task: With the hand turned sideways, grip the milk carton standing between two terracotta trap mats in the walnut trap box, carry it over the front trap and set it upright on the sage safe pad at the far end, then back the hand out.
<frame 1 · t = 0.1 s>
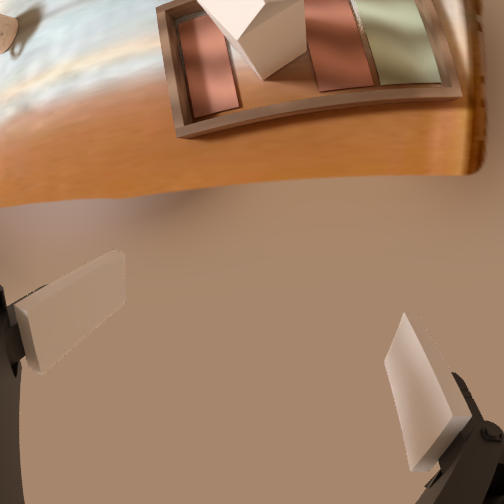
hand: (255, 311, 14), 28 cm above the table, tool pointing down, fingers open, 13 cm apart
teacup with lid: (7, 41, 39), on the table
trap box: (306, 40, 33), on the table
milk carton: (268, 47, 35), resting in trap box
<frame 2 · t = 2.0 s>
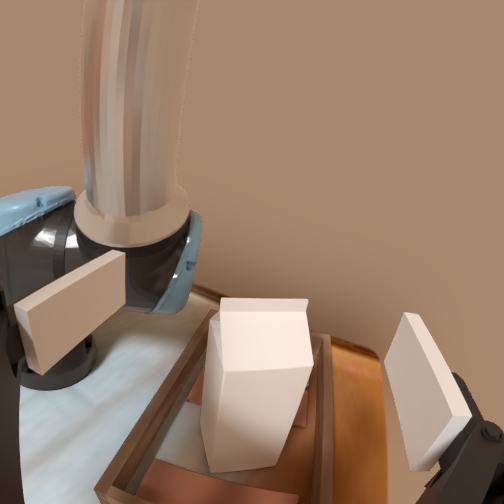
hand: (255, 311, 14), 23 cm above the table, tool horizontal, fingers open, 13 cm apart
trap box: (245, 416, 35), on the table
milk carton: (235, 447, 30), resting in trap box
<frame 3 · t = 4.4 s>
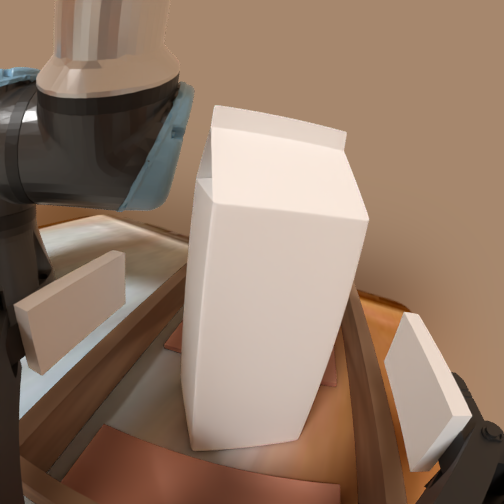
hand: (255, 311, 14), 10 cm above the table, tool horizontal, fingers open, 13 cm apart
trap box: (248, 370, 25), on the table
milk carton: (234, 412, 21), resting in trap box
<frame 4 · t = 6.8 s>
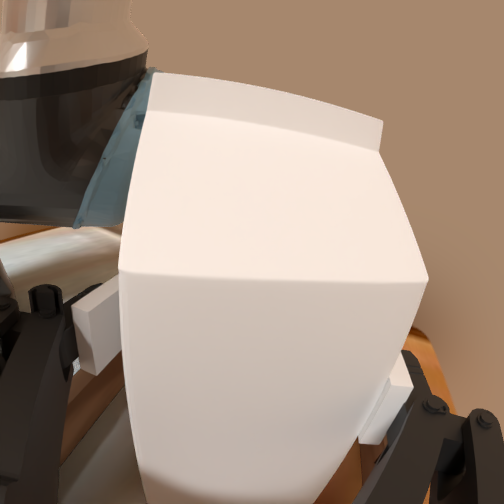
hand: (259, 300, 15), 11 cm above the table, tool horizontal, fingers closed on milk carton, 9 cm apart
trap box: (234, 432, 19), on the table
milk carton: (214, 492, 14), resting in trap box, touching gripper
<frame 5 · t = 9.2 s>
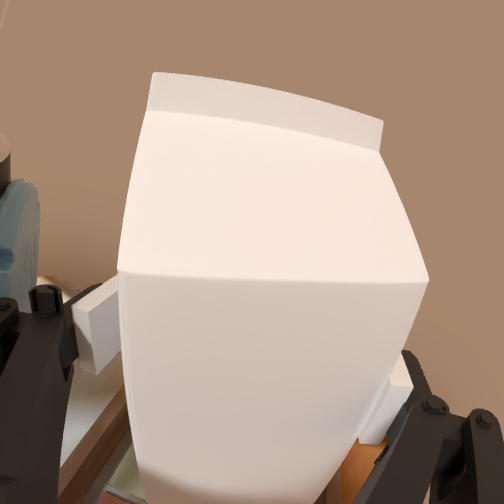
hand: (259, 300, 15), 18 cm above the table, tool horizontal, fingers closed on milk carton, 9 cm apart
milk carton: (214, 492, 14), point 7 cm above the table, touching gripper
when the fingers open (12 cm above the table, at t = 12.0 s): milk carton drops 1 cm, resting on trap box.
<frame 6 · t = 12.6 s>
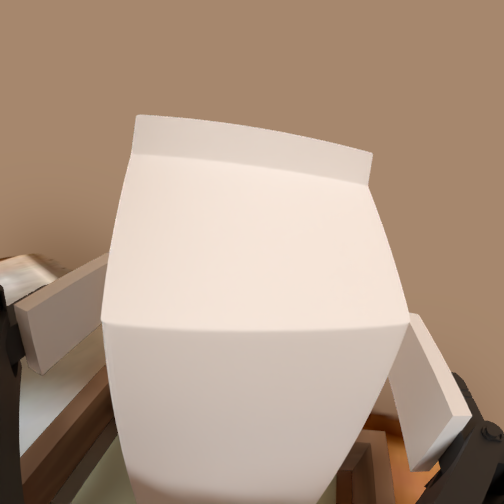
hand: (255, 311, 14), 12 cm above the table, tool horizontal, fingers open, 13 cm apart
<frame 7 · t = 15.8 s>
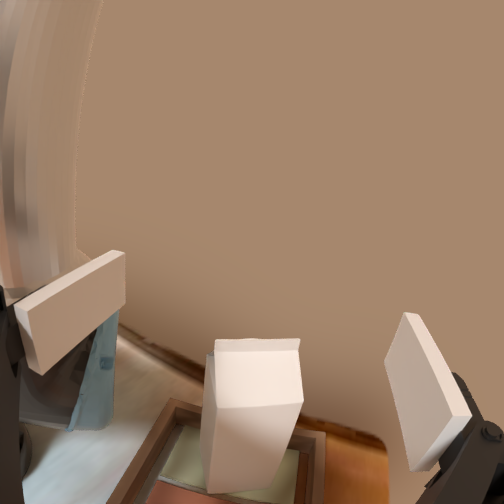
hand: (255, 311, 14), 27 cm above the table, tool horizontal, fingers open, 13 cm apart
milk carton: (233, 469, 30), resting on trap box
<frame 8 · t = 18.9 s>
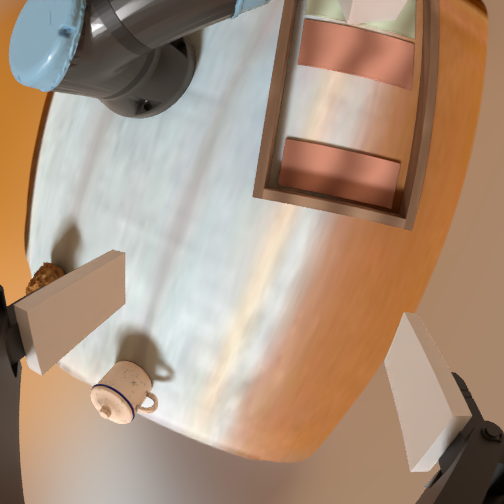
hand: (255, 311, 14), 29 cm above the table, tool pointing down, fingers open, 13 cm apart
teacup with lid: (139, 379, 55), on the table
trap box: (355, 75, 34), on the table
milk carton: (363, 2, 30), resting on trap box
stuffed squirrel: (63, 289, 53), on the table
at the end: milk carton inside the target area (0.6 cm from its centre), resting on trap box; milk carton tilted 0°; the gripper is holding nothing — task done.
